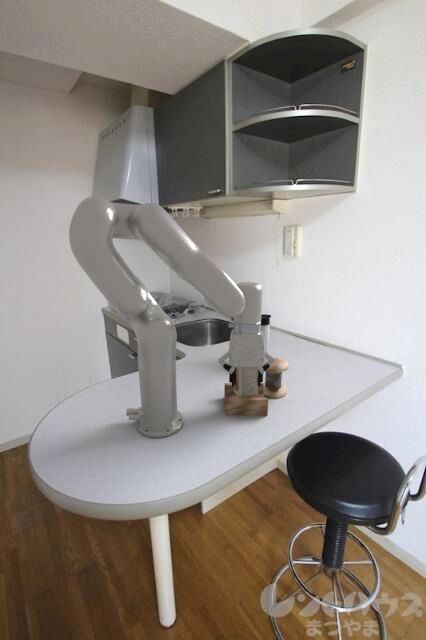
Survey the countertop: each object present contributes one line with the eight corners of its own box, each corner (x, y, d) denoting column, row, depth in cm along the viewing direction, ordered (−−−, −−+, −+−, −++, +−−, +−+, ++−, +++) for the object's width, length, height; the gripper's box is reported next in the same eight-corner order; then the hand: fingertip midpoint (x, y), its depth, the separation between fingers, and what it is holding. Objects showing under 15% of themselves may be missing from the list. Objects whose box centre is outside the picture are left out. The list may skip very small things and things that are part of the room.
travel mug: (268, 367, 122) (271, 317, 116) (251, 366, 123) (252, 316, 117) (268, 361, 127) (271, 313, 122) (252, 359, 129) (254, 312, 123)
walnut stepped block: (225, 415, 91) (225, 400, 89) (224, 397, 100) (224, 383, 99) (267, 415, 91) (268, 400, 89) (262, 397, 100) (262, 383, 99)
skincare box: (252, 388, 97) (253, 351, 94) (258, 395, 93) (259, 356, 90) (232, 391, 95) (233, 354, 92) (238, 398, 91) (238, 359, 88)
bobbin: (260, 398, 100) (262, 369, 97) (257, 384, 108) (258, 357, 105) (289, 398, 100) (291, 369, 97) (283, 384, 108) (285, 357, 105)
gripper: (216, 331, 85) (216, 390, 90) (281, 331, 85) (277, 390, 90) (216, 323, 92) (216, 378, 97) (275, 322, 92) (272, 378, 97)
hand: (245, 383), depth 93 cm, fingers closed on skincare box, 7 cm apart
